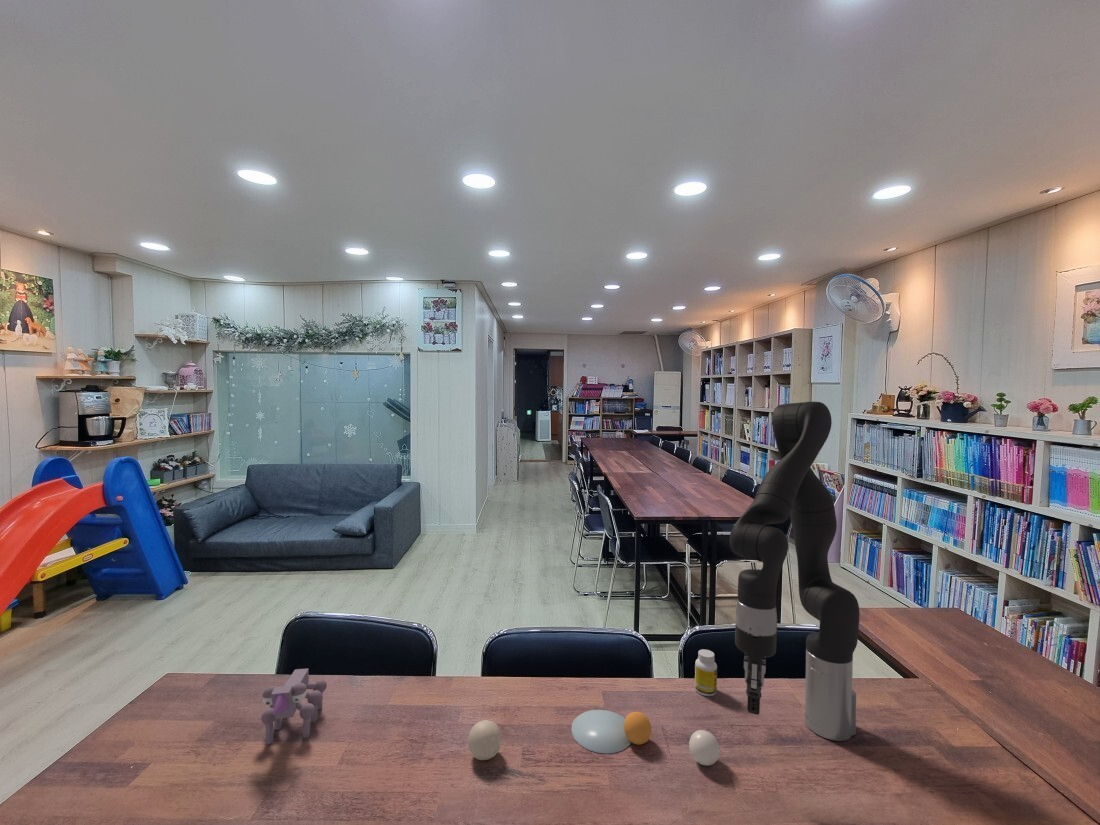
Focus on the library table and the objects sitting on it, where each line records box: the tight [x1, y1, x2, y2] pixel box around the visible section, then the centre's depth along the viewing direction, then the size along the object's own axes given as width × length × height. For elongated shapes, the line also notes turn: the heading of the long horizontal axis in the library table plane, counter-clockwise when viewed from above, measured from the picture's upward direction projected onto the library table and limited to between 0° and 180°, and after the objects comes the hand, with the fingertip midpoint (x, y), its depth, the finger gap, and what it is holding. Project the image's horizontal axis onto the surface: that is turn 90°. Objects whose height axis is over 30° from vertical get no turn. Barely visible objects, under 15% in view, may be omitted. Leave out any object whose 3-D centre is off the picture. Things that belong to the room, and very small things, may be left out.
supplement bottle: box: [694, 648, 718, 697], centre depth 121 cm, size 5×5×10 cm
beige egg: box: [467, 719, 502, 761], centre depth 98 cm, size 7×7×7 cm
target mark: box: [571, 709, 633, 755], centre depth 106 cm, size 14×14×1 cm
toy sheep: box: [260, 668, 328, 745], centre depth 103 cm, size 20×11×14 cm, turn 11°
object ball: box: [624, 711, 652, 746], centre depth 103 cm, size 6×6×6 cm
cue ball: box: [688, 729, 720, 766], centre depth 97 cm, size 6×6×6 cm
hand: (753, 711), depth 93 cm, fingers closed
